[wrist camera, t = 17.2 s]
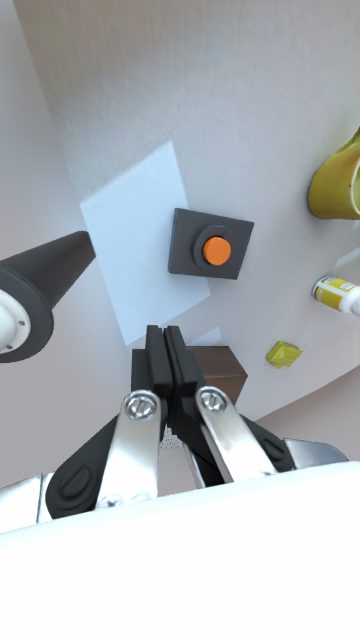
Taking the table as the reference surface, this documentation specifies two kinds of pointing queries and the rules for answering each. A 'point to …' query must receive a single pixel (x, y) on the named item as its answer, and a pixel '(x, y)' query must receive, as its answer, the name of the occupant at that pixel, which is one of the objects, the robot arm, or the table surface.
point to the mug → (338, 184)
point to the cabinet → (221, 369)
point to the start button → (216, 251)
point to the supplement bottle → (338, 294)
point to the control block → (193, 235)
